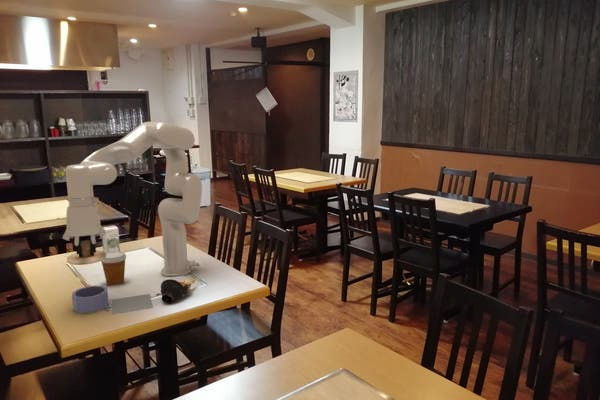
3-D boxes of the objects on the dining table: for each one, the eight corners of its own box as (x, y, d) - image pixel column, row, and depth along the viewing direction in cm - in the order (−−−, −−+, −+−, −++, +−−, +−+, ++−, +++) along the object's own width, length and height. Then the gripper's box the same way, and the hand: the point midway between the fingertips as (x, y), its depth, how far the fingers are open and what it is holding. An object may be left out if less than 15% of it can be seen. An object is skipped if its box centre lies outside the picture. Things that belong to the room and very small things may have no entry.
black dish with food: (149, 293, 157) (168, 262, 172) (167, 316, 161) (184, 283, 177) (171, 286, 154) (188, 255, 169) (188, 309, 158) (203, 276, 174)
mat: (149, 295, 167) (149, 293, 167) (152, 309, 155) (152, 307, 155) (111, 301, 162) (111, 299, 162) (112, 315, 150) (111, 314, 150)
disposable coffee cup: (109, 290, 172) (106, 260, 169) (98, 283, 178) (95, 254, 176) (132, 283, 179) (130, 254, 176) (121, 277, 185) (119, 249, 183)
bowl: (108, 299, 163) (107, 283, 162) (108, 311, 153) (107, 295, 152) (75, 304, 159) (73, 288, 158) (72, 317, 149) (70, 300, 148)
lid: (106, 251, 160) (104, 235, 159) (106, 261, 150) (104, 244, 148) (68, 256, 156) (66, 239, 155) (65, 266, 145) (63, 248, 144)
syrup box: (115, 254, 215) (113, 224, 212) (120, 257, 210) (118, 227, 208) (103, 257, 211) (100, 227, 208) (108, 260, 207) (105, 229, 204)
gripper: (108, 198, 156) (112, 249, 159) (54, 202, 149) (60, 255, 153) (108, 202, 149) (113, 255, 152) (52, 206, 143) (58, 261, 146)
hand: (86, 254), depth 153 cm, fingers closed on lid, 3 cm apart
